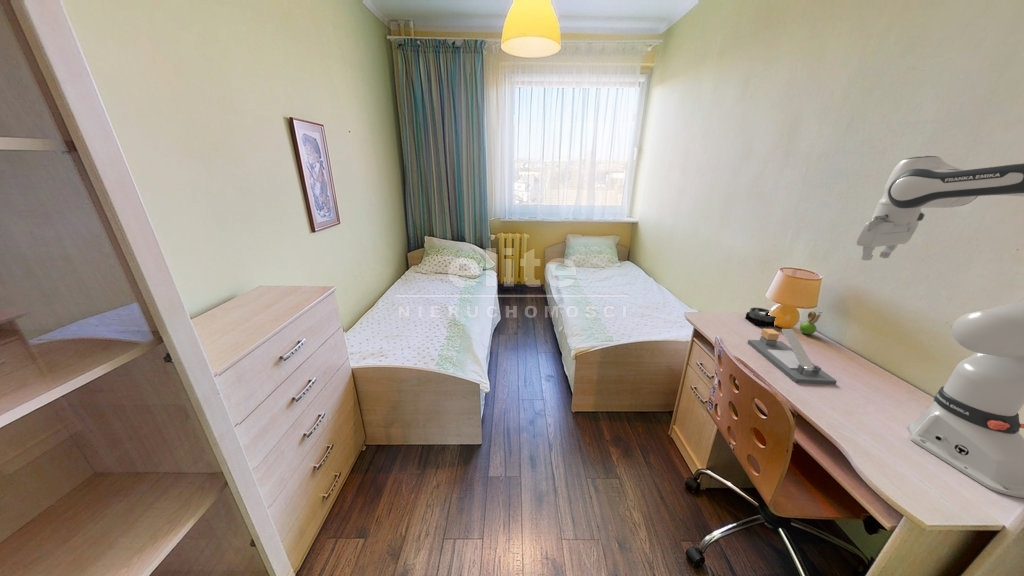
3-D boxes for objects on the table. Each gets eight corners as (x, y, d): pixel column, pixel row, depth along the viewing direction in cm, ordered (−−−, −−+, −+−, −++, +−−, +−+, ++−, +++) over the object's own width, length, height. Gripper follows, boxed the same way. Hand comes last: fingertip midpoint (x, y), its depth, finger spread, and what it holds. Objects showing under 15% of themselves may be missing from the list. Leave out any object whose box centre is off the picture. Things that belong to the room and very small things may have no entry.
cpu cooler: (745, 306, 155) (766, 307, 155) (741, 317, 157) (763, 318, 157) (759, 316, 145) (782, 316, 145) (756, 327, 147) (778, 328, 147)
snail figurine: (803, 336, 140) (813, 311, 135) (795, 329, 145) (804, 305, 141) (818, 338, 138) (828, 312, 134) (809, 331, 144) (818, 306, 140)
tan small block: (777, 340, 129) (779, 333, 128) (767, 339, 129) (769, 333, 128) (770, 335, 133) (772, 329, 132) (760, 334, 133) (762, 328, 132)
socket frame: (835, 384, 109) (839, 374, 108) (795, 382, 110) (799, 372, 108) (780, 344, 133) (783, 335, 132) (747, 342, 134) (750, 334, 132)
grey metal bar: (814, 372, 112) (817, 370, 111) (802, 371, 112) (805, 369, 111) (790, 330, 123) (793, 328, 122) (780, 330, 123) (782, 328, 122)
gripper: (888, 217, 92) (867, 264, 97) (928, 215, 98) (907, 259, 103) (860, 214, 97) (841, 258, 102) (899, 211, 104) (880, 253, 109)
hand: (874, 258), depth 103 cm, fingers open, 8 cm apart
